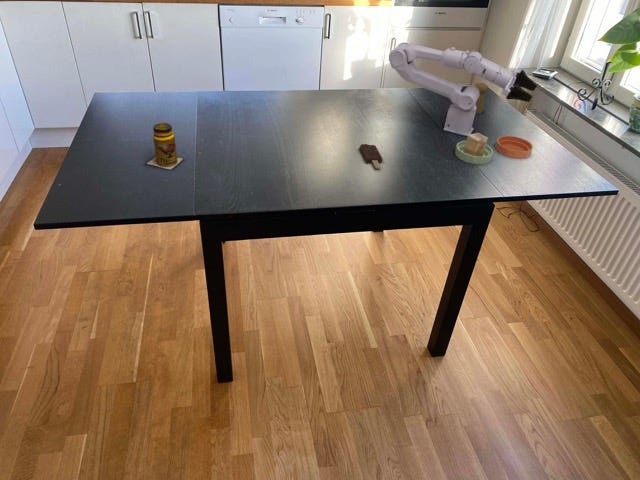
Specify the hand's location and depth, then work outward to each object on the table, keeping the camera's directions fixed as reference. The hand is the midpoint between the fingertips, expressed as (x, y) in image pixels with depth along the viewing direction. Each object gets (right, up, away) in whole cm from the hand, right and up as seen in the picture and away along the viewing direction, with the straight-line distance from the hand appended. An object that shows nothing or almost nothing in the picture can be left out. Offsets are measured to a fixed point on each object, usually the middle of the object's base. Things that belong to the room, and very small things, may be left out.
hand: (533, 93), depth 169 cm
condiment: (-119, -25, -14) cm, 122 cm away
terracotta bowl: (-5, -18, +6) cm, 20 cm away
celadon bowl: (-20, -21, +1) cm, 29 cm away
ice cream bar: (-54, -23, -5) cm, 59 cm away
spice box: (-20, -21, +1) cm, 29 cm away
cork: (-9, +3, +33) cm, 34 cm away
